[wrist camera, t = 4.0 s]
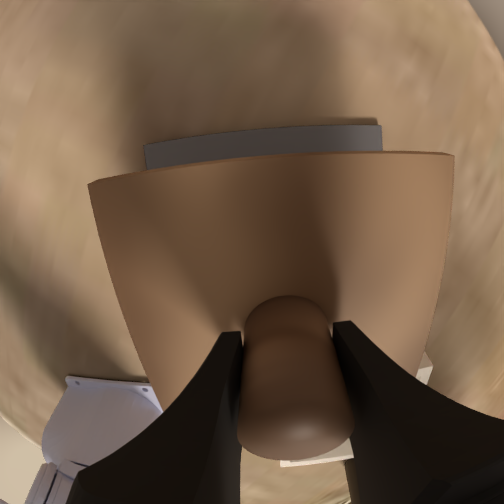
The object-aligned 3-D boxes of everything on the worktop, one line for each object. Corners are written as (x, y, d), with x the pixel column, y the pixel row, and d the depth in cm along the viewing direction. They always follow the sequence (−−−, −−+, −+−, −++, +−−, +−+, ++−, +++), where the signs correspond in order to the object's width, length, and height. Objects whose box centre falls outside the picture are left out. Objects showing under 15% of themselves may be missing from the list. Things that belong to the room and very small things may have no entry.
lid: (172, 413, 14) (152, 499, 10) (98, 179, 10) (-7, 232, 5) (400, 395, 14) (431, 476, 9) (442, 152, 9) (552, 189, 4)
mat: (185, 338, 21) (184, 341, 21) (145, 144, 16) (143, 145, 16) (371, 322, 20) (372, 326, 20) (378, 125, 15) (381, 125, 15)
